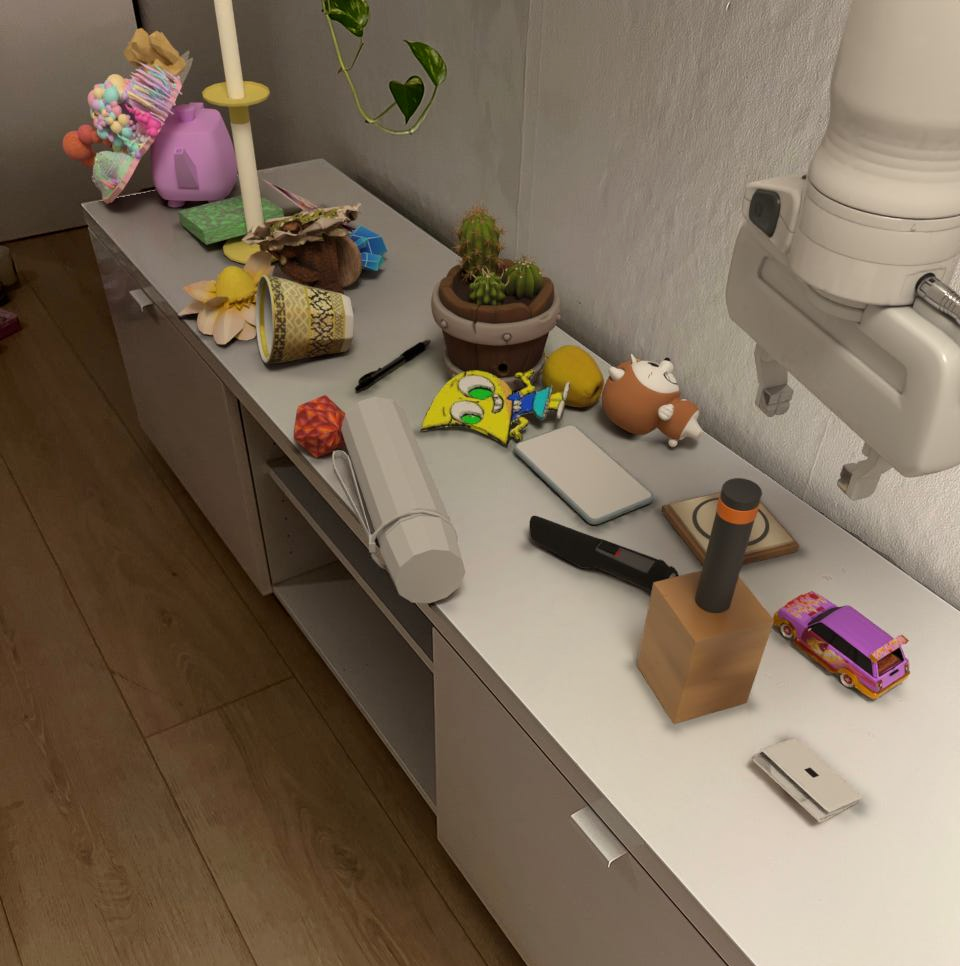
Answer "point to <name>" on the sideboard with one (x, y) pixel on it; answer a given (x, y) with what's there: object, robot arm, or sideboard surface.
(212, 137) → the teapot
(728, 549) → the marker
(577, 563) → the electric trimmer
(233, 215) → the green jade tablet
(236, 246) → the candle
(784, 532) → the ringed wooden coaster
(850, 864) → the sideboard surface
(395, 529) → the water bottle
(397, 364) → the pen
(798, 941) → the sideboard surface
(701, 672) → the brown block
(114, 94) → the candy platter
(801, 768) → the laptop
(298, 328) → the ceramic cup
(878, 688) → the toy car
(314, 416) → the decorative stone
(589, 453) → the smartphone
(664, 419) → the figurine
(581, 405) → the apple
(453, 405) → the toy
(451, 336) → the flowerpot
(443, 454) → the sideboard surface
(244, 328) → the decorative flower
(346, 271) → the gemstone
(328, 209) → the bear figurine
